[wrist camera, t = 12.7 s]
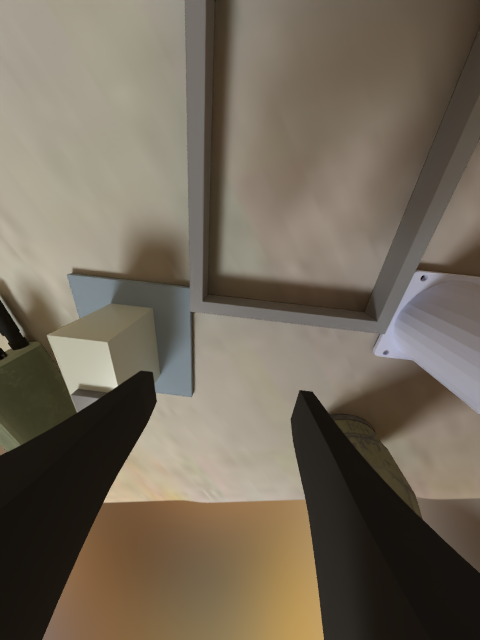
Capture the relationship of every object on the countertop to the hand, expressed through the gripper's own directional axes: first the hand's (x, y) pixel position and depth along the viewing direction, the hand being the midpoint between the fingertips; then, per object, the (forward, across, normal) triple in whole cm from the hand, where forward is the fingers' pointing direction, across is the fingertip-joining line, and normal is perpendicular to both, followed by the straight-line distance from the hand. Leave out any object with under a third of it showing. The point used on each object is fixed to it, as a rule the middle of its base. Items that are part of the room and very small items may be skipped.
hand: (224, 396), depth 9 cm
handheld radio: (+10, +21, +12) cm, 26 cm away
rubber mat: (+9, +10, +4) cm, 14 cm away
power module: (+9, +10, +4) cm, 14 cm away
